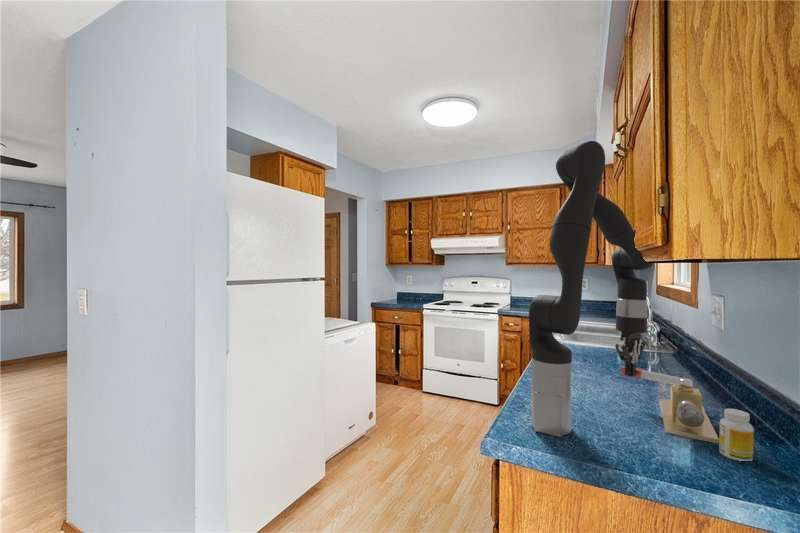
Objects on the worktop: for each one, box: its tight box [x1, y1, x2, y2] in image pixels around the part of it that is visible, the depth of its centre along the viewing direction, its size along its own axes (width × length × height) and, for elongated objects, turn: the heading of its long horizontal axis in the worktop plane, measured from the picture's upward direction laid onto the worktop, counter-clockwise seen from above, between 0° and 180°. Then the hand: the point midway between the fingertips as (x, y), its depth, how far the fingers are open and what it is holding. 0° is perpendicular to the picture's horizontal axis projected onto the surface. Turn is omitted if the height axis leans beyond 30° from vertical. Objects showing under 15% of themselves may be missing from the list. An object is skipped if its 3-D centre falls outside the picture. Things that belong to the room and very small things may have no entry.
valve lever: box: [620, 365, 694, 388], centre depth 101 cm, size 16×3×2 cm, turn 41°
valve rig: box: [659, 384, 719, 444], centre depth 96 cm, size 24×10×9 cm, turn 147°
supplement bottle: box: [718, 408, 755, 462], centre depth 78 cm, size 5×5×10 cm
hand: (630, 375), depth 103 cm, fingers closed
